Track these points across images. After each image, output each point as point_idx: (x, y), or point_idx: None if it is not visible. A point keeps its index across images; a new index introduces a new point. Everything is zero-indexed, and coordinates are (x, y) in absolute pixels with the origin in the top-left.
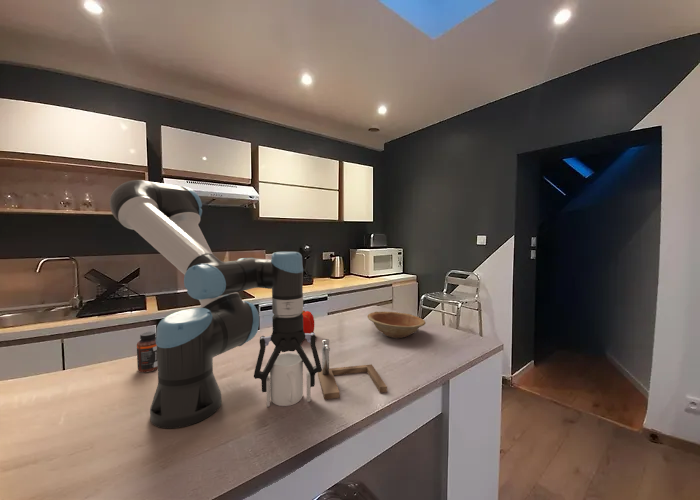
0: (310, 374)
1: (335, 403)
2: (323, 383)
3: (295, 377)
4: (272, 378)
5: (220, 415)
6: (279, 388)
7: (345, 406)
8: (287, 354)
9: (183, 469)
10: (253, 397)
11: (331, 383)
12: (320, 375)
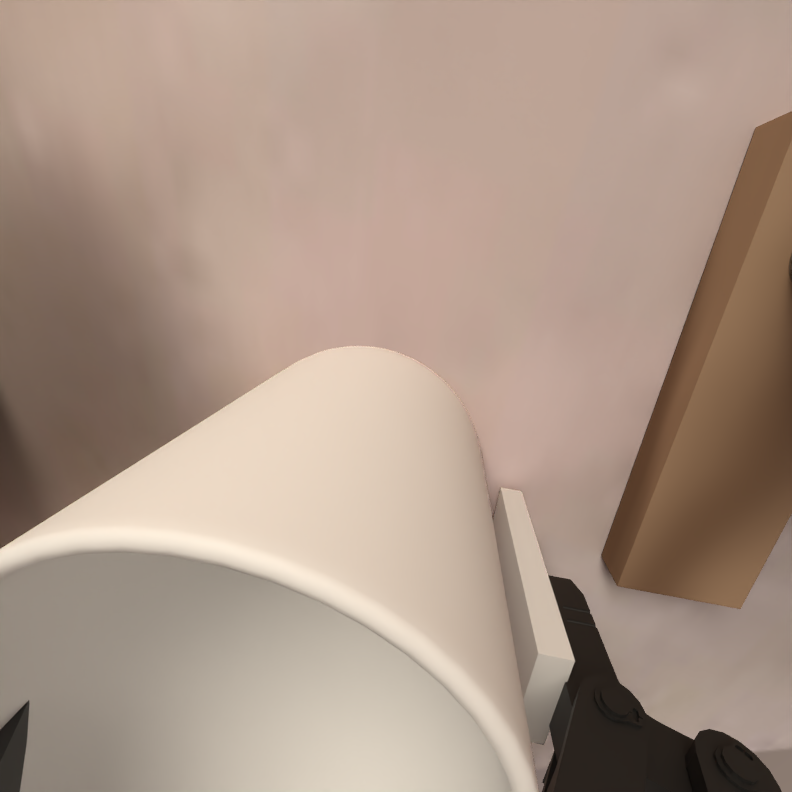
0: (550, 764)
1: (649, 613)
2: (690, 451)
3: (382, 727)
4: (165, 625)
5: (23, 477)
6: (266, 618)
7: (690, 658)
8: (242, 547)
9: None
10: (153, 361)
11: (759, 478)
12: (748, 286)
